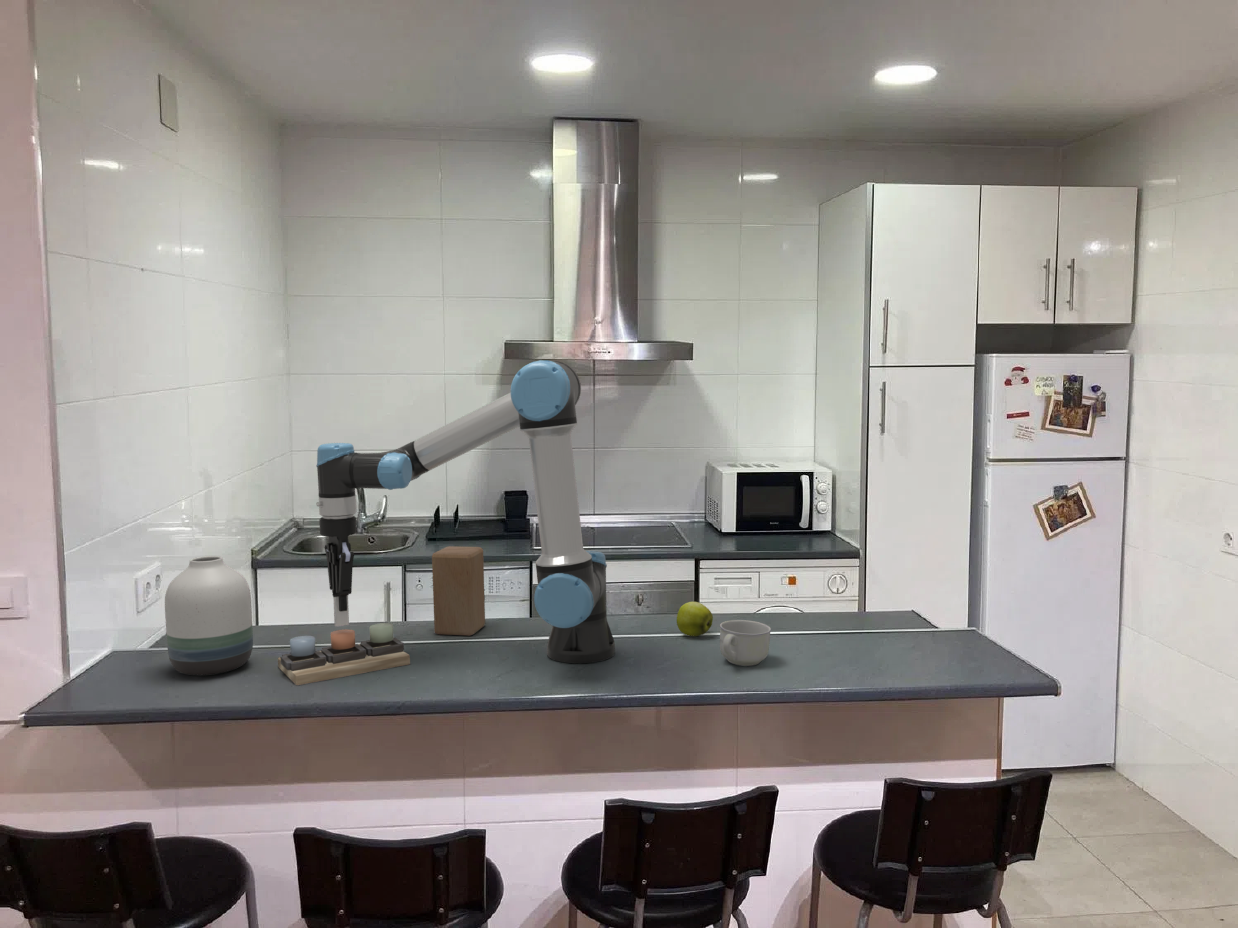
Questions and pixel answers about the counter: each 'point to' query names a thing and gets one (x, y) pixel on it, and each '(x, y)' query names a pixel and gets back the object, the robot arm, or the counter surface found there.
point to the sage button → (381, 633)
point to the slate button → (302, 646)
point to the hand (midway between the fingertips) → (341, 624)
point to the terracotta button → (342, 639)
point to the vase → (208, 618)
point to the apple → (694, 619)
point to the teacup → (744, 641)
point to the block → (458, 590)
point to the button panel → (344, 661)
